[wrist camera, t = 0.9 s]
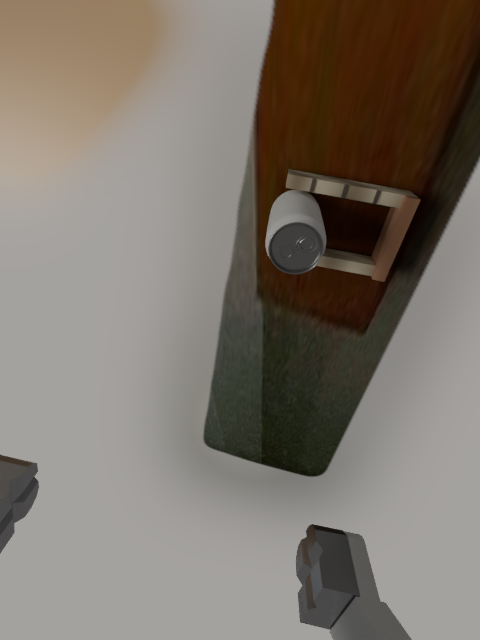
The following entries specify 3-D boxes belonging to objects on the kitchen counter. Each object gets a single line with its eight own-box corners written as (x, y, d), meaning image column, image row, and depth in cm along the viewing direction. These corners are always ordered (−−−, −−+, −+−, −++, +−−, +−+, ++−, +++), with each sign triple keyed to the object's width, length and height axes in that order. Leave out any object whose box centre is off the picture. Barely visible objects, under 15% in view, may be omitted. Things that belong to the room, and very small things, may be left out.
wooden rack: (272, 248, 47) (270, 260, 44) (288, 169, 41) (288, 175, 38) (377, 268, 47) (384, 281, 43) (410, 191, 41) (420, 199, 37)
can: (326, 226, 44) (336, 265, 35) (281, 245, 47) (278, 286, 37) (309, 179, 41) (315, 207, 32) (262, 201, 44) (253, 234, 34)
